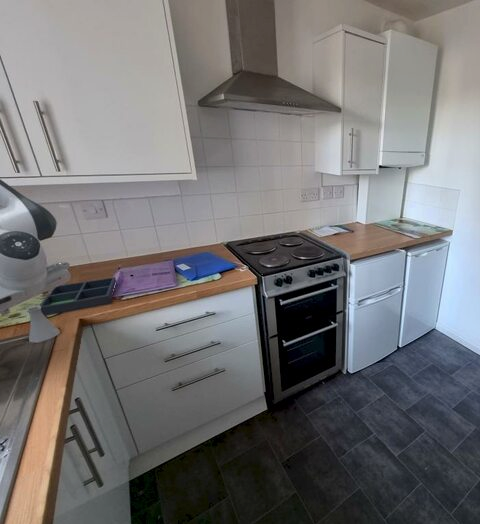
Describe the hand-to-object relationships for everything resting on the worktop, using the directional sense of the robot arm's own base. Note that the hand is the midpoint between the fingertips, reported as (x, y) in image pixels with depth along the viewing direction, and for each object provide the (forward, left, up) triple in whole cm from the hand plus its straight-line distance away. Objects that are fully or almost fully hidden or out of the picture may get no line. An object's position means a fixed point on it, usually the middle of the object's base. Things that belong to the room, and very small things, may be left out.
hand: (26, 302), depth 85 cm
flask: (-1, +4, -14) cm, 15 cm away
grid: (+4, +29, -14) cm, 33 cm away
